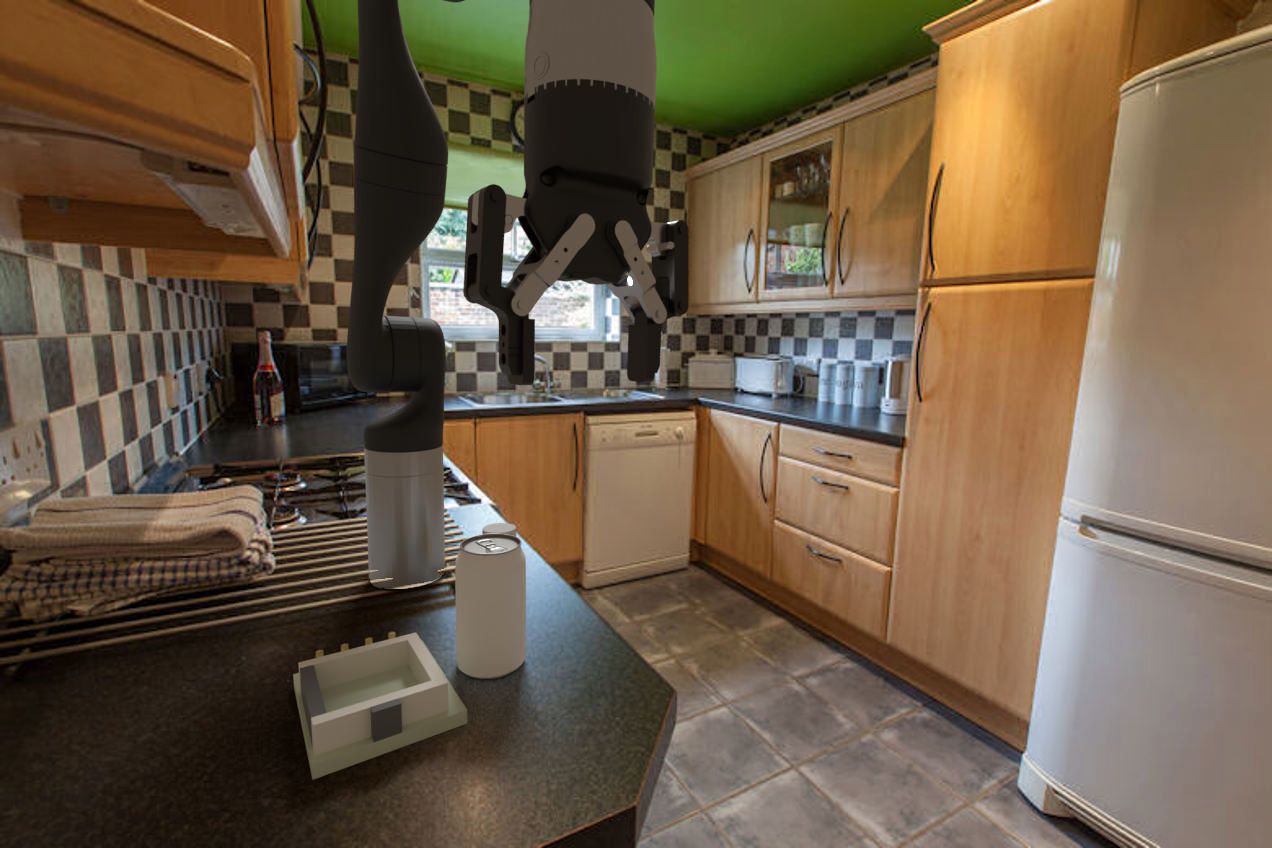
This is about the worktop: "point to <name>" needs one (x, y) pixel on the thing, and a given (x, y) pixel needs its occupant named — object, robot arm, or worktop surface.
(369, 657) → the socket board
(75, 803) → the worktop surface
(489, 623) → the can
